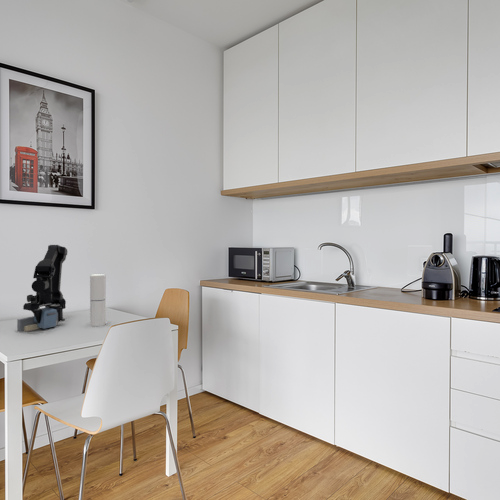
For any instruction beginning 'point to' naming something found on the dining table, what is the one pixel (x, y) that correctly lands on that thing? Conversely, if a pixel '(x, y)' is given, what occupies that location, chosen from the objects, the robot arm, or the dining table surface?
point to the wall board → (28, 324)
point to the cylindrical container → (97, 300)
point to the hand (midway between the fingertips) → (45, 321)
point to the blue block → (47, 318)
